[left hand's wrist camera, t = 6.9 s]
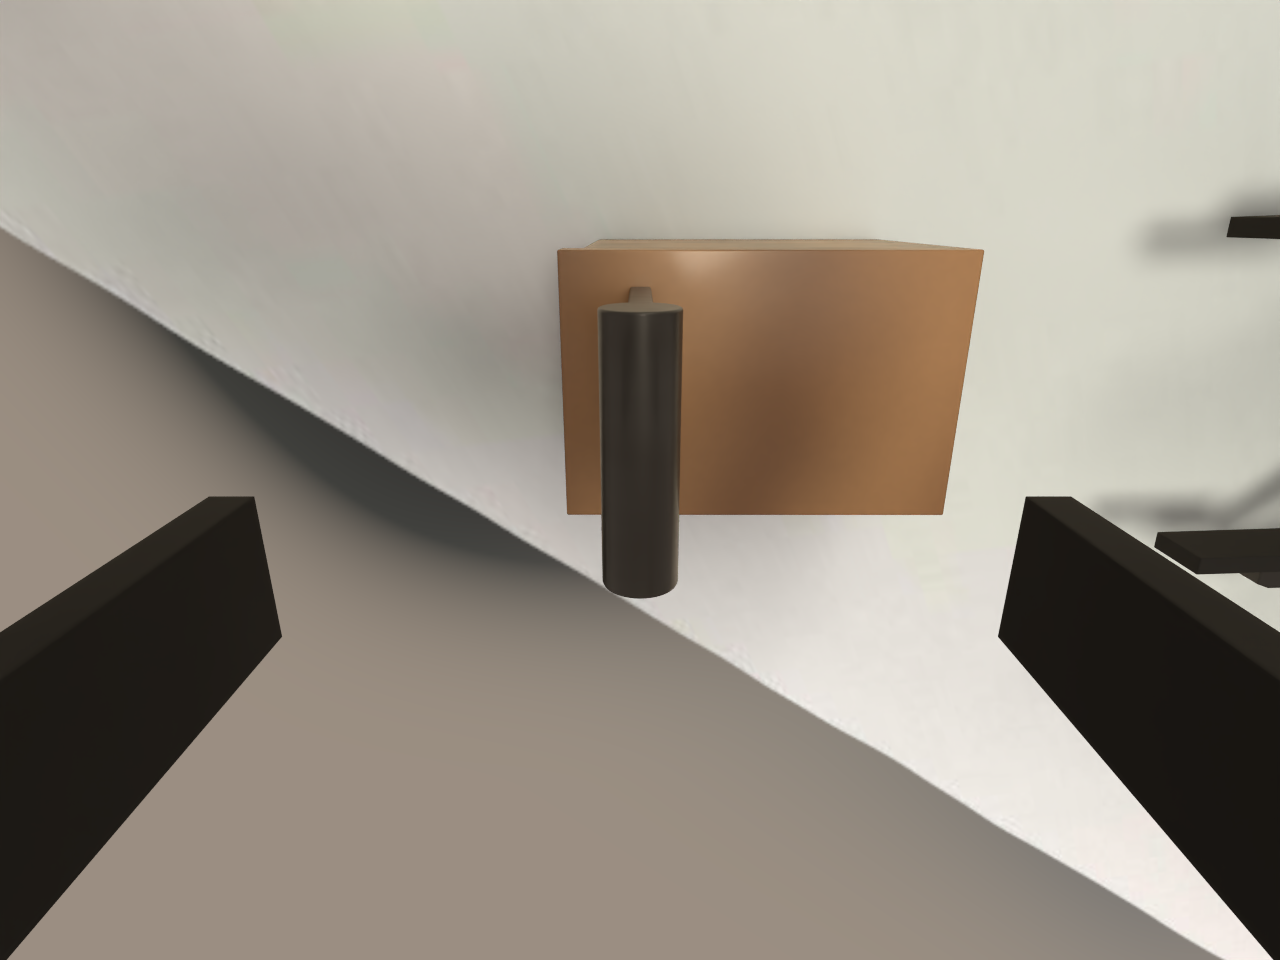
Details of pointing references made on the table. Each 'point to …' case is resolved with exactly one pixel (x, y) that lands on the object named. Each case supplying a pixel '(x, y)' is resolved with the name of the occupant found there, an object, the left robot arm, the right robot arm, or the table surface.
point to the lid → (756, 388)
